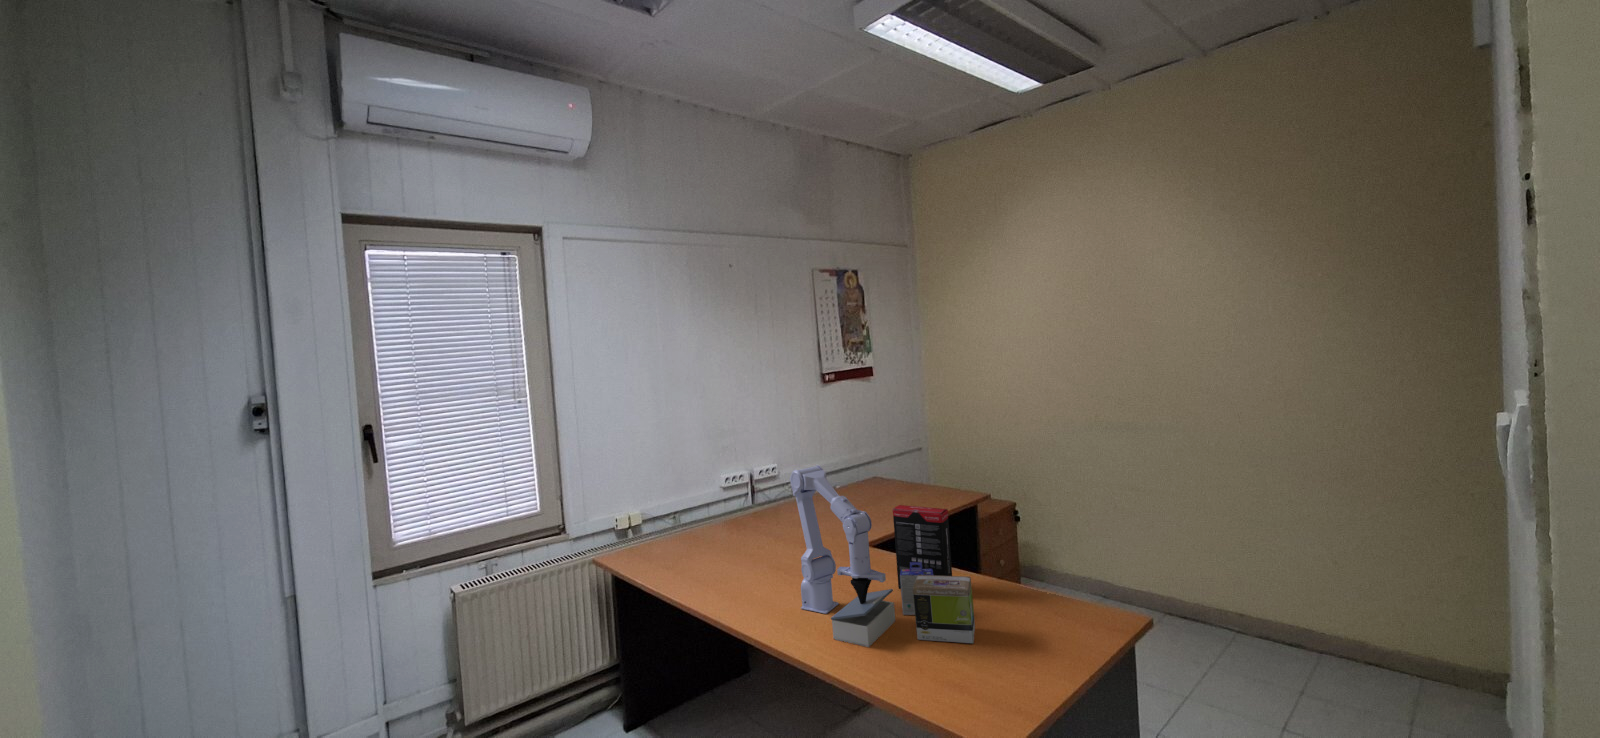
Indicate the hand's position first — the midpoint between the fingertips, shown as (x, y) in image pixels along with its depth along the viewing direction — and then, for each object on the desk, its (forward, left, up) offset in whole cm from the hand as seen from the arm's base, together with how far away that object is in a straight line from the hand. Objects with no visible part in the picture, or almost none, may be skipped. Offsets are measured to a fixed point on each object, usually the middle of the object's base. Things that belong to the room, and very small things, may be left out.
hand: (863, 602), depth 171 cm
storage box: (0, 0, -8) cm, 8 cm away
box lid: (0, 0, -1) cm, 1 cm away
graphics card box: (+5, +32, -8) cm, 33 cm away
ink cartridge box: (+9, +17, -8) cm, 21 cm away
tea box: (+21, +7, -8) cm, 24 cm away
